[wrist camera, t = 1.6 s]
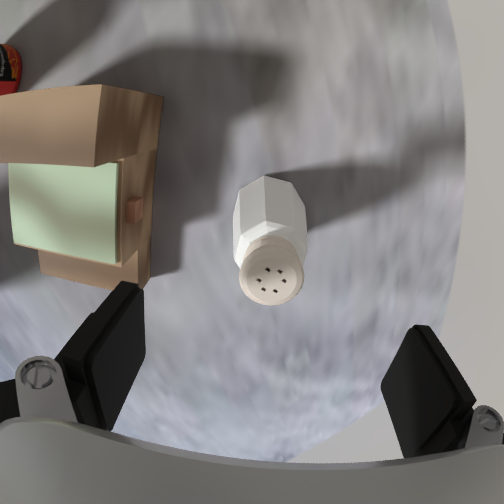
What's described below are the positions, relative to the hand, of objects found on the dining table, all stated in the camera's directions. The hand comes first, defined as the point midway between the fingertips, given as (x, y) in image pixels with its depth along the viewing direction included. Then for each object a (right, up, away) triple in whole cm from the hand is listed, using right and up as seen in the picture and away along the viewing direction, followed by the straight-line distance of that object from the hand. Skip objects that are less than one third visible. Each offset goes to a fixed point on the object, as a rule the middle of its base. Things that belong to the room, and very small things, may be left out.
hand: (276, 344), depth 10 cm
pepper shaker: (0, +6, +13) cm, 15 cm away
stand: (-13, +8, +13) cm, 20 cm away
